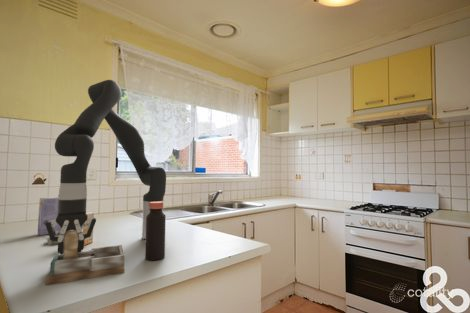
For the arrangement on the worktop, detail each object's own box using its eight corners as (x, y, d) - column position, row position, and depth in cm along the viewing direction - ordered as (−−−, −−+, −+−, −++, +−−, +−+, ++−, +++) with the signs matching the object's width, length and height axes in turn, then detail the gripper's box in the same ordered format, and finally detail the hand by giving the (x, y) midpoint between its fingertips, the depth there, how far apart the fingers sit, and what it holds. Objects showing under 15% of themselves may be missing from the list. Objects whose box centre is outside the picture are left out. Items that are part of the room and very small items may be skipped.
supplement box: (78, 248, 106) (79, 215, 107) (68, 247, 107) (69, 215, 108) (93, 242, 114) (94, 212, 115) (83, 242, 115) (84, 211, 116)
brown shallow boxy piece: (121, 257, 95) (121, 243, 96) (124, 272, 81) (124, 256, 81) (54, 265, 86) (55, 251, 87) (45, 285, 72) (46, 267, 72)
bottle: (154, 262, 90) (155, 203, 91) (141, 258, 94) (142, 202, 95) (168, 256, 96) (169, 201, 97) (156, 253, 100) (157, 200, 101)
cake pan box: (78, 227, 143) (79, 195, 144) (83, 228, 140) (84, 195, 141) (36, 234, 128) (38, 198, 129) (40, 236, 125) (42, 198, 126)
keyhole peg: (83, 262, 86) (84, 228, 86) (81, 268, 80) (83, 232, 81) (59, 265, 83) (61, 229, 84) (56, 272, 77) (58, 234, 78)
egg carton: (58, 238, 121) (58, 229, 121) (75, 238, 122) (75, 229, 122) (43, 245, 110) (43, 235, 111) (62, 245, 111) (62, 235, 111)
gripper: (98, 195, 89) (96, 246, 88) (47, 197, 83) (45, 252, 82) (98, 197, 82) (96, 253, 82) (42, 199, 76) (40, 259, 75)
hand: (70, 252), depth 82 cm, fingers open, 4 cm apart
